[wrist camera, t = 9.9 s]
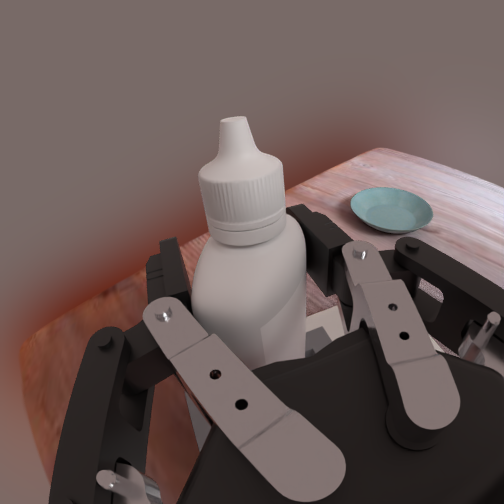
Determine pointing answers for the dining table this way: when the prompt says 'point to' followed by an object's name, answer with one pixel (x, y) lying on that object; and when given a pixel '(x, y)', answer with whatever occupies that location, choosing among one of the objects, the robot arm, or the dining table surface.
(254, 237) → the eye dropper bottle
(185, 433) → the dining table surface
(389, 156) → the dining table surface
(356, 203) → the saucer
